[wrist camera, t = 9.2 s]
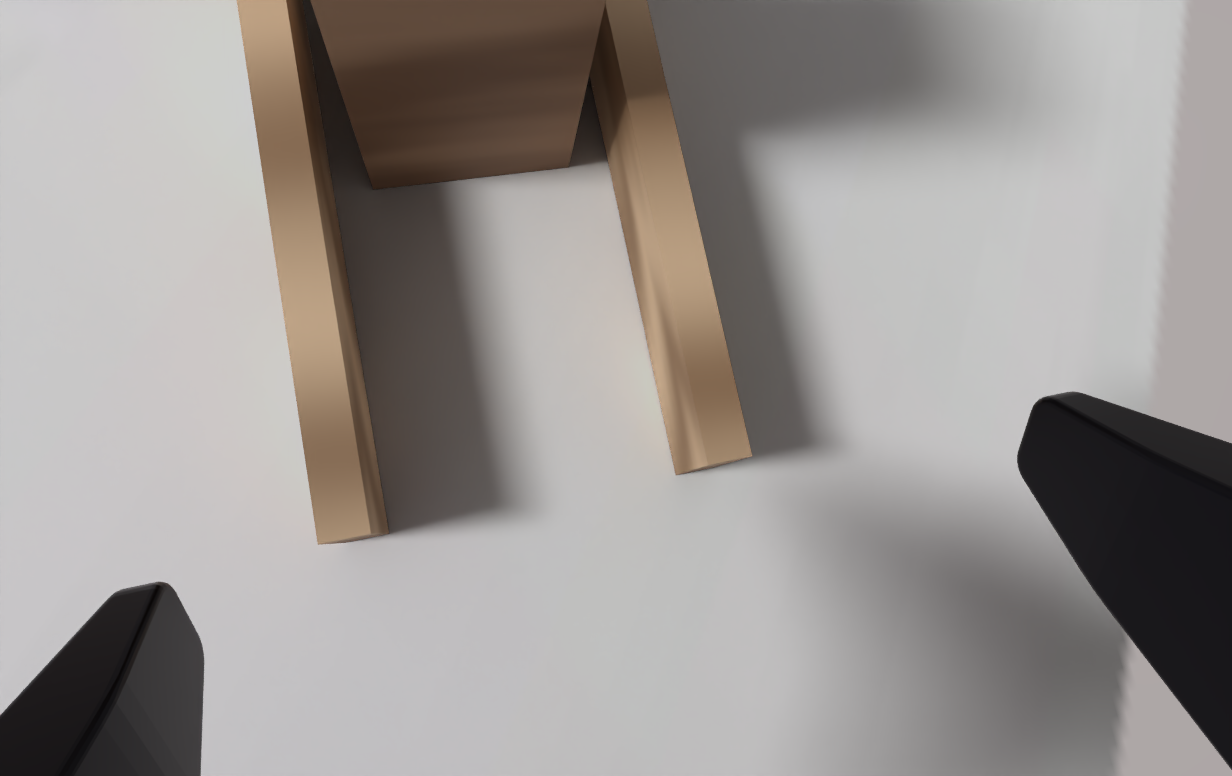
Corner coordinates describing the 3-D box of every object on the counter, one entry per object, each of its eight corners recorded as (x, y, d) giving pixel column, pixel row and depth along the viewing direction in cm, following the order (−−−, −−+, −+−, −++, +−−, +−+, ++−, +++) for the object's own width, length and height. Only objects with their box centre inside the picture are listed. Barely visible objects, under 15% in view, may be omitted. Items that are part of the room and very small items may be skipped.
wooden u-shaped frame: (713, 467, 20) (768, 451, 16) (344, 543, 18) (306, 545, 14) (557, -232, 23) (571, -388, 19) (227, -223, 21) (169, -391, 17)
